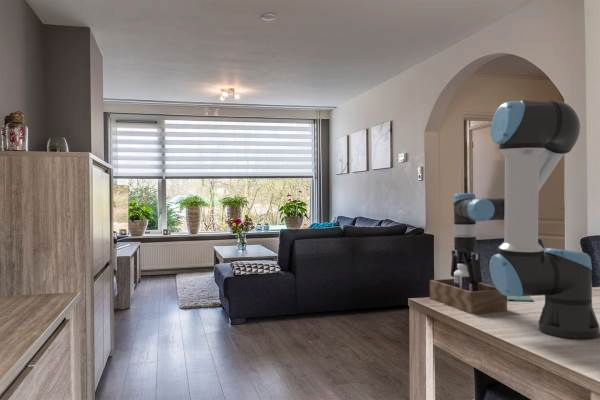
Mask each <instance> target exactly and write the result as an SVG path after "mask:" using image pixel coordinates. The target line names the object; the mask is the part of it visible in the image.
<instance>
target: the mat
mask: <svg viewBox="0 0 600 400" xmlns="http://www.w3.org/2000/svg"><path fill="white" fill-rule="evenodd" d="M507 300H514V301H513V302H531V301H533V302H534V299H533V298H532V296H521V297H517V296H507Z"/></svg>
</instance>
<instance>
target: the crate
mask: <svg viewBox="0 0 600 400" xmlns="http://www.w3.org/2000/svg"><path fill="white" fill-rule="evenodd" d="M429 299H430V300H433V301H435V300H436V302H438V301H439V302H438V303H441V304H443V303H444V305H447V306H449V307H451V308H454V309H458V310H460V311H463V312H466V313H467V314H482V313H483V314H484V313H494V312H506V310H507V311H508V301H507V296H505V295H503V294H501V293H500V292H499V291H498V290H497V288H496V287H495V285H494V286H493V285H489V284H485V283H482V282H479V283H478V291H475V292H471V291H467V290H464V289H461V288H457V287H454V278H444V279H442V278H441V279H429Z"/></svg>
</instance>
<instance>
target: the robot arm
mask: <svg viewBox="0 0 600 400" xmlns="http://www.w3.org/2000/svg"><path fill="white" fill-rule="evenodd" d="M580 131H581V122H580V118H579V116H578V114H577V112H576V111H575V109H574V108H573V107H572V106H571V105H569V104H567V103H566V102H563V101H559V100H522V99H521V100H510V101H506V102H502V103H501V104H500V106H498V108H496V110H495V112H494V114H493V117H492V120H491V125H490V137H491V140H492V142H493V143H495V144H496V145H499V147H498V148H499V149H498V150H499V152H500V153H501V155H503V156H504V197H503V198H502V197H499V198H483V197H481V198H480V197H479V198H476V194H475V193H473V192H470V193H467V192H466V193H465V192H464V193H461V192H460V193H455V194H454V195H453V203H452V204H453V235H455V236H454V238H453V240H454V241H453V245H454V247H455V248H456V249H455V250H453V249H452V250H451V266H450V267H451V268H450V276H451V277H452V278H454V272H455V271H456V270H458V267H457V264H462V263H465V265H467V269H468V273H469V277H470V281H471V282H469V291H471V292H475V291H478V283H482V282H483V278H482V268H481V262H480V261H481V260H480V259H481V254H480V253H476V252H475V249H474V248H476V247H477V237H476V235H477V222H487V221H489V222H490V221H504V222H503V223H504V224H503V225H504V227H503V228H504V231H503V233H504V234H503V235H504V238H503V240H504V241H503V242H502V243H501V244H500V245H499V246H498V247H497V249H498V250H497V251H498V253H495V254H494V255H492V256H491V258H490V261H489V273H490V276H491V281H492V283H493V285H494V287H496V288H497V290H498V291H499V292H500V293H501V294H503V295H505V296H517V297H521V296H530V297H535V296H544V305H543V307H542V310H541V313H540V315H539V319H538V330H539V331H540V332H542V333H544V334H546V335H550V336H555V337H559V338H560V337H561V338H566V339H578V340H580V339H581V340H586V339H587V340H589V339H596V338H598V337H600V324H599V321H598V318H597V317H596V314H595V311H594V310H595V309H594V308H593V291H592V290H593V288H592V287H593V285H592V284H593V282H592V281H593V280H592V279H593V278H592V275H593V273H592V271H593V268H592V267H593V266H592V258H591V256H590V255H589V254H588V253H586V252H581V251H575V250H567V249H562V248H561V249H559V248H554V247H545V248H544V247H542V245H541V244H540V243H539V193H540V191H541V189H542V187H543V185H544V184H545V183H546V182H547V180H548V178H549V177H550V176H551V174H552V173H553V171H554V169H555V168H556V167H557V165H558V163H559V162H560V160H561V159H562V157H563V156H564V155H567V154H568V153H570V152H571V151H572V150H573V148H574V147H575V145H576V143H577V142H578V140H579V136H580ZM473 279H474V280H473Z"/></svg>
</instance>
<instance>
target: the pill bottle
mask: <svg viewBox="0 0 600 400" xmlns="http://www.w3.org/2000/svg"><path fill="white" fill-rule="evenodd" d="M457 267H458V270H456V271H455V272H454V277H453V279H454V287H457V288H461V289H464V290H467V291H469V282H471V281H470V277H469V273H468V269H467V265H465V263H462V264H457ZM473 280H474V279H473Z"/></svg>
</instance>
